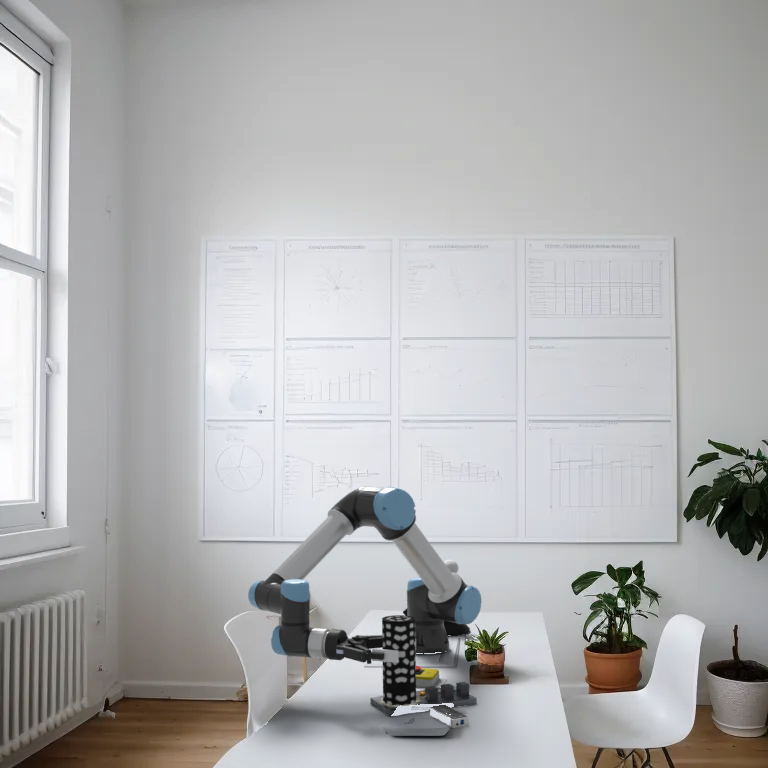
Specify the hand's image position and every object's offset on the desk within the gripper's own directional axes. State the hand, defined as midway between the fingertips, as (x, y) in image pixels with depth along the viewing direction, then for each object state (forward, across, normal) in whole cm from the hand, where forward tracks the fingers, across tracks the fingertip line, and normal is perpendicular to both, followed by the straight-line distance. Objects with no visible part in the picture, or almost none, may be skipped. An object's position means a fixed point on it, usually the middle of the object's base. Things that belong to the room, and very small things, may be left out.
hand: (407, 650), depth 209 cm
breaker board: (+3, -5, -14) cm, 15 cm away
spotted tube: (-2, 0, -12) cm, 13 cm away
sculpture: (-19, -88, -14) cm, 91 cm away
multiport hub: (+12, +5, -15) cm, 20 cm away
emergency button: (-5, -24, -15) cm, 28 cm away
